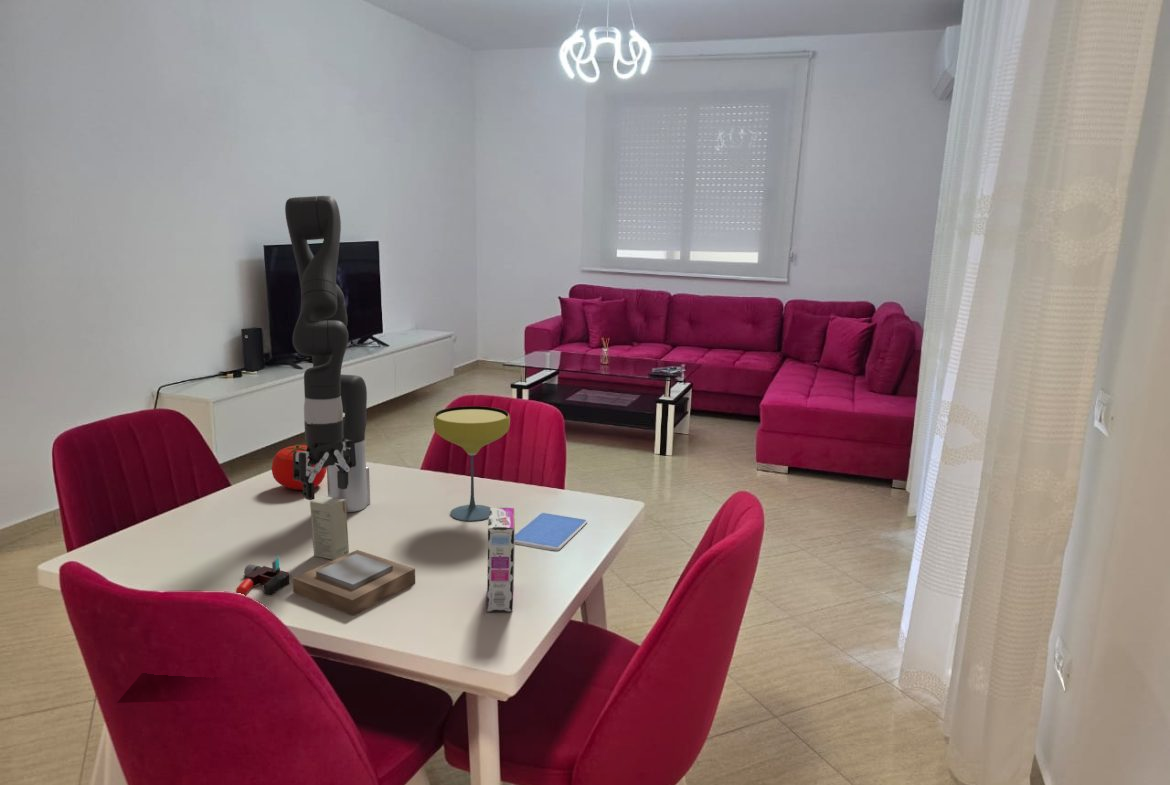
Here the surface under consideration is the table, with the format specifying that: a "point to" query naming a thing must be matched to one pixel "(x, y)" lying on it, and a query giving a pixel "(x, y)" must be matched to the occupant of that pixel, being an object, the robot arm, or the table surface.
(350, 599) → the walnut plinth
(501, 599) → the candy bar box
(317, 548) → the skincare box
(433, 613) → the table surface
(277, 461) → the tomato
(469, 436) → the cocktail glass
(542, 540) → the tablet computer
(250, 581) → the toy gun
